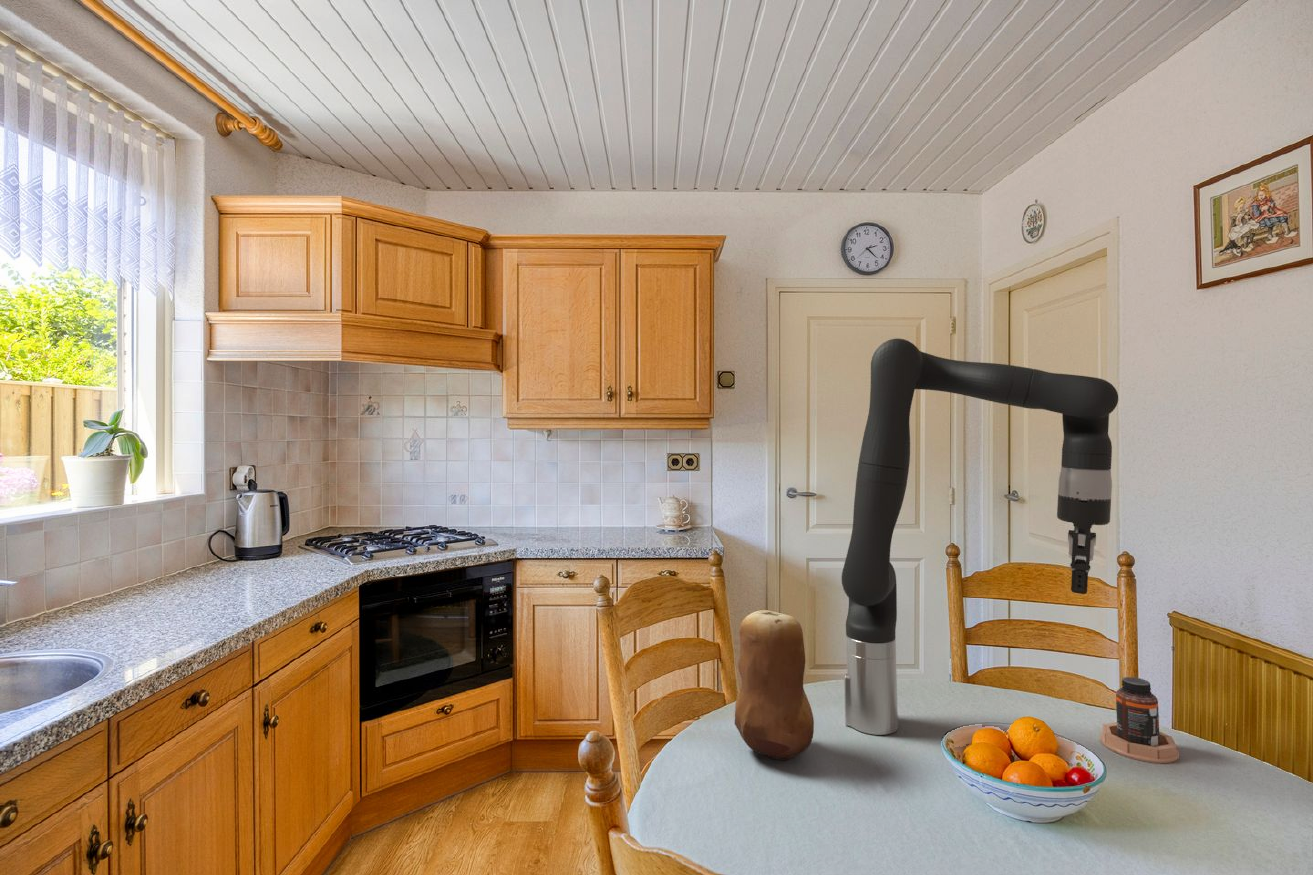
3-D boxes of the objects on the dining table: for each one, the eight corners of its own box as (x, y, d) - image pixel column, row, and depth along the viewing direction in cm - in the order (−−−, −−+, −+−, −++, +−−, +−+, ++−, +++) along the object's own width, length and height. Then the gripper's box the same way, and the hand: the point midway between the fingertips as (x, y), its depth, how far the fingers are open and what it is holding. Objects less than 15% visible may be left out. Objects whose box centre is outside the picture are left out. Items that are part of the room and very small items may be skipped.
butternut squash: (808, 737, 114) (805, 603, 115) (820, 774, 101) (816, 623, 102) (734, 735, 116) (731, 603, 116) (736, 771, 102) (733, 622, 103)
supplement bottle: (1168, 754, 104) (1165, 688, 105) (1128, 751, 106) (1126, 685, 106) (1147, 738, 110) (1145, 675, 110) (1110, 735, 111) (1108, 673, 112)
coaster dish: (1104, 753, 106) (1103, 740, 106) (1097, 728, 116) (1096, 716, 116) (1186, 769, 101) (1185, 755, 101) (1171, 741, 110) (1171, 729, 110)
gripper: (1059, 488, 112) (1055, 574, 113) (1056, 496, 101) (1051, 592, 102) (1110, 492, 108) (1105, 581, 109) (1112, 501, 96) (1107, 601, 97)
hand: (1079, 586), depth 105 cm, fingers open, 8 cm apart
